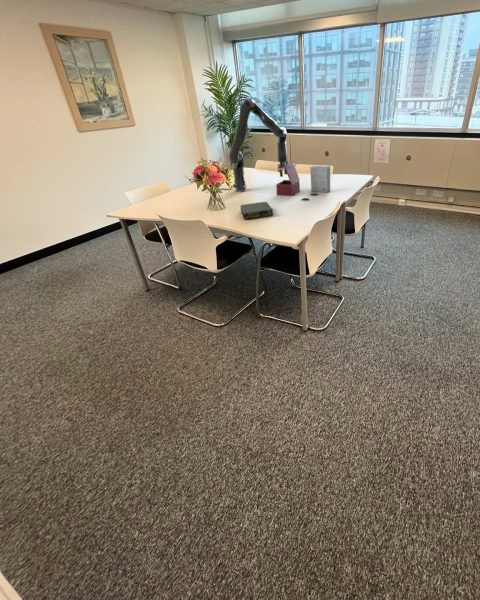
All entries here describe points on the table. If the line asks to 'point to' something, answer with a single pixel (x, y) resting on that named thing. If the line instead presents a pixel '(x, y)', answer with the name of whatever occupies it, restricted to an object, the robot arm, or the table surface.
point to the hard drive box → (320, 178)
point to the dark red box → (287, 188)
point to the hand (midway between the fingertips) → (283, 175)
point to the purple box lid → (292, 173)
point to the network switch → (256, 210)
